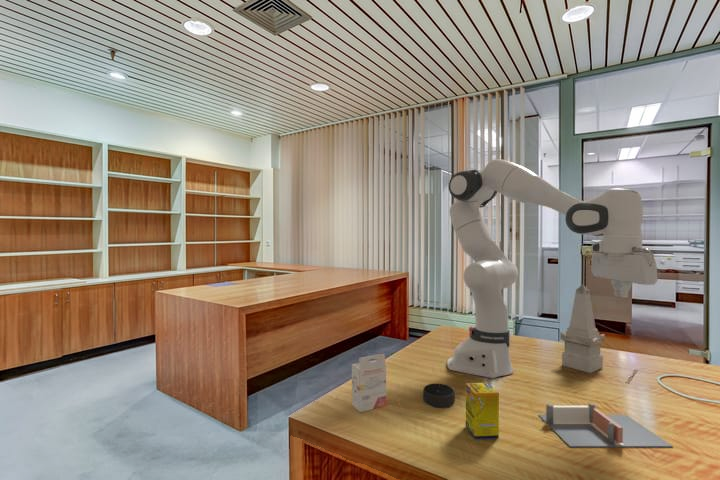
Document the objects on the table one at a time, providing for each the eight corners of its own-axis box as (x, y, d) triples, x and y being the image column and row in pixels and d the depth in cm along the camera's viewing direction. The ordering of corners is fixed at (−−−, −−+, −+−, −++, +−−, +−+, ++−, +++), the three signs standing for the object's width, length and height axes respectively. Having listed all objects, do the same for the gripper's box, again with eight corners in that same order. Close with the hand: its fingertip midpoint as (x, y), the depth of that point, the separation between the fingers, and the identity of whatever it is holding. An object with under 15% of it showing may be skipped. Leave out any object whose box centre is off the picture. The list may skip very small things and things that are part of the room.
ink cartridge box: (377, 399, 106) (377, 348, 106) (386, 406, 102) (386, 353, 102) (351, 405, 102) (351, 353, 102) (359, 413, 98) (359, 358, 98)
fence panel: (592, 422, 91) (592, 408, 91) (596, 422, 91) (596, 408, 91) (618, 443, 82) (618, 427, 82) (622, 443, 82) (622, 427, 82)
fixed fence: (568, 445, 83) (568, 423, 83) (545, 421, 93) (545, 403, 93) (621, 445, 83) (621, 423, 83) (592, 421, 93) (592, 403, 93)
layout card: (570, 447, 82) (570, 445, 82) (538, 415, 96) (538, 414, 96) (672, 447, 82) (672, 445, 82) (625, 415, 96) (625, 414, 96)
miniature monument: (604, 367, 132) (605, 284, 132) (591, 373, 126) (591, 286, 126) (574, 359, 141) (574, 281, 140) (560, 365, 135) (560, 283, 134)
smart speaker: (456, 398, 107) (456, 384, 107) (453, 412, 99) (453, 397, 99) (425, 394, 110) (425, 380, 110) (420, 407, 102) (420, 392, 102)
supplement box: (464, 426, 91) (465, 382, 91) (488, 425, 91) (488, 382, 91) (474, 440, 85) (474, 393, 85) (499, 438, 86) (499, 392, 85)
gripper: (665, 248, 91) (664, 303, 91) (607, 245, 111) (606, 291, 112) (640, 248, 91) (639, 303, 91) (587, 245, 111) (586, 291, 111)
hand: (621, 296), depth 101 cm, fingers closed
